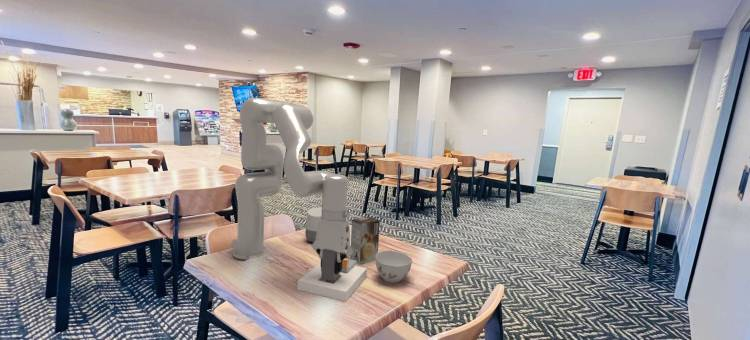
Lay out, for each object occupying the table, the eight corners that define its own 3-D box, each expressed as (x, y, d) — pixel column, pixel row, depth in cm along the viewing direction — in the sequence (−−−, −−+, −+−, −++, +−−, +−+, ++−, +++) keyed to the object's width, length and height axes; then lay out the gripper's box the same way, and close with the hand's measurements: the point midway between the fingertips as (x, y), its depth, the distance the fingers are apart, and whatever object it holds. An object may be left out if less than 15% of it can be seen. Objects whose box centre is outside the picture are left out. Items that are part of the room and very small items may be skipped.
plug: (321, 278, 101) (322, 242, 100) (328, 271, 106) (330, 237, 104) (333, 280, 100) (334, 244, 98) (339, 274, 105) (341, 239, 103)
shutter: (327, 268, 109) (328, 257, 109) (338, 259, 117) (339, 249, 117) (347, 272, 107) (347, 261, 106) (356, 263, 115) (357, 252, 114)
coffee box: (367, 254, 132) (370, 215, 130) (377, 260, 127) (380, 220, 125) (349, 259, 126) (351, 219, 124) (359, 265, 121) (362, 223, 119)
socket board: (297, 289, 100) (297, 280, 100) (324, 267, 117) (325, 259, 117) (345, 301, 95) (346, 291, 95) (366, 276, 112) (367, 268, 112)
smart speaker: (303, 243, 139) (304, 211, 137) (307, 236, 148) (308, 206, 146) (325, 244, 139) (327, 212, 138) (328, 237, 148) (329, 207, 147)
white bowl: (396, 292, 103) (398, 268, 102) (366, 279, 110) (367, 256, 109) (421, 277, 114) (423, 255, 113) (392, 266, 122) (393, 245, 121)
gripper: (363, 215, 101) (360, 271, 104) (315, 208, 107) (313, 262, 109) (354, 221, 94) (351, 281, 97) (303, 213, 99) (301, 270, 102)
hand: (331, 270), depth 103 cm, fingers closed on plug, 4 cm apart
